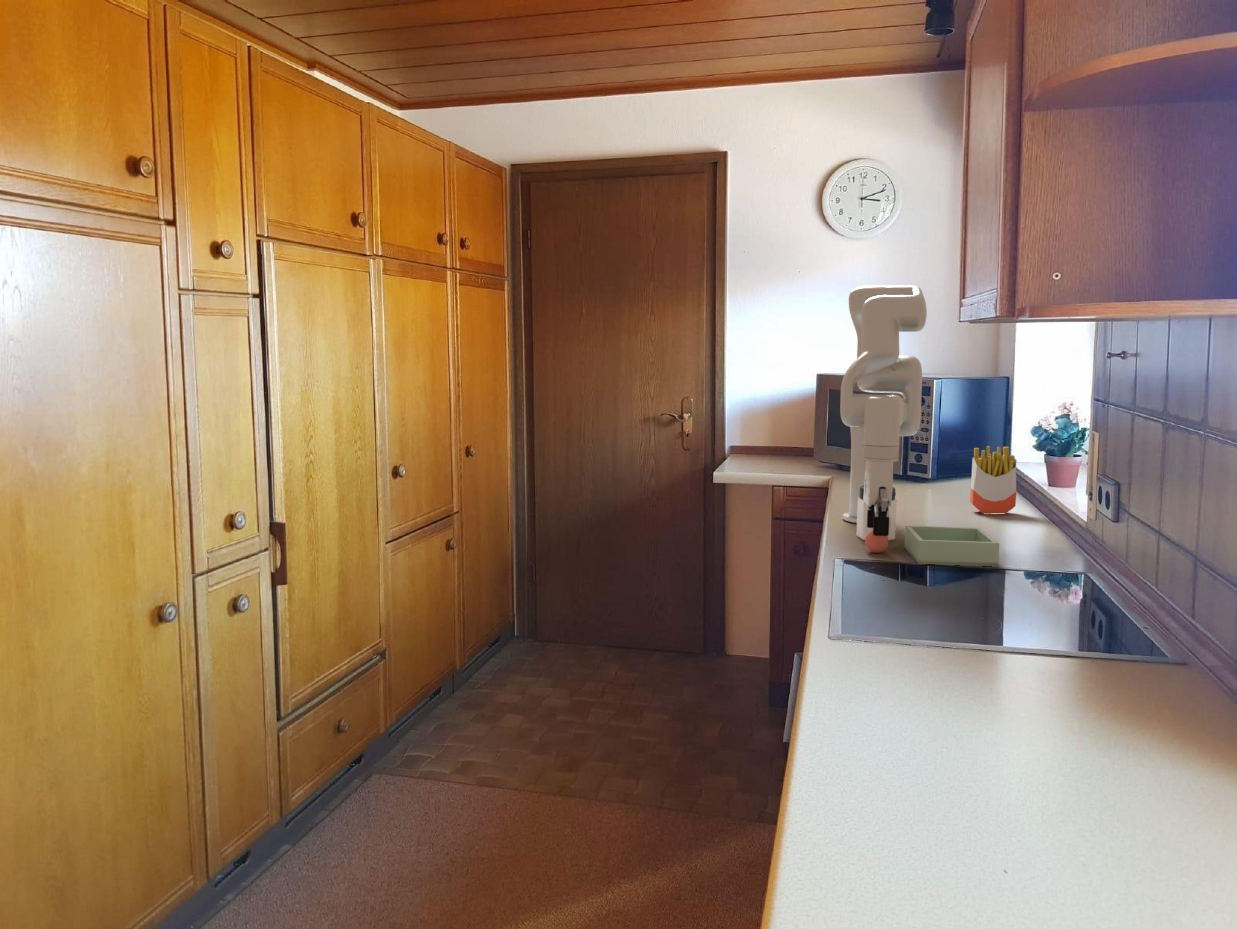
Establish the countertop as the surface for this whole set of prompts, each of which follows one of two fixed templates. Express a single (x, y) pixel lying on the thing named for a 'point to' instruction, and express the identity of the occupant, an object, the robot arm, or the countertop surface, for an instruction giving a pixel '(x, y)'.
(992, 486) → the french fries container
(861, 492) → the jar
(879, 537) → the tomato ball
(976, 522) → the countertop surface
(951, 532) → the green bin
